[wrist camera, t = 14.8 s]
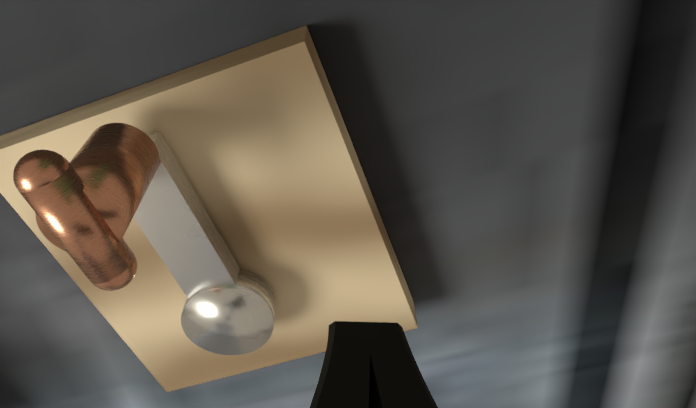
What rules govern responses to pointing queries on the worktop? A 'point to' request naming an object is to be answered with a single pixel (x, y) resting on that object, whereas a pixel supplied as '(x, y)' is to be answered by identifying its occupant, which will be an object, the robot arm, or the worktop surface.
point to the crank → (146, 231)
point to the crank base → (242, 205)
